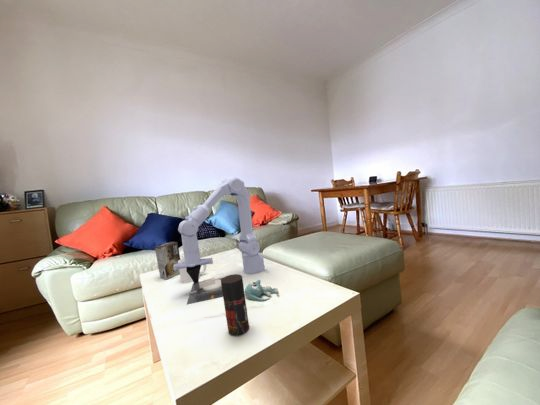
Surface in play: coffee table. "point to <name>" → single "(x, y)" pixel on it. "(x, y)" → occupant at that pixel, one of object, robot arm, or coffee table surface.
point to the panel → (203, 295)
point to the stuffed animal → (258, 291)
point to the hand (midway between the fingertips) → (196, 284)
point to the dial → (208, 285)
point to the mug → (184, 275)
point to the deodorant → (235, 304)
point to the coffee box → (167, 259)
